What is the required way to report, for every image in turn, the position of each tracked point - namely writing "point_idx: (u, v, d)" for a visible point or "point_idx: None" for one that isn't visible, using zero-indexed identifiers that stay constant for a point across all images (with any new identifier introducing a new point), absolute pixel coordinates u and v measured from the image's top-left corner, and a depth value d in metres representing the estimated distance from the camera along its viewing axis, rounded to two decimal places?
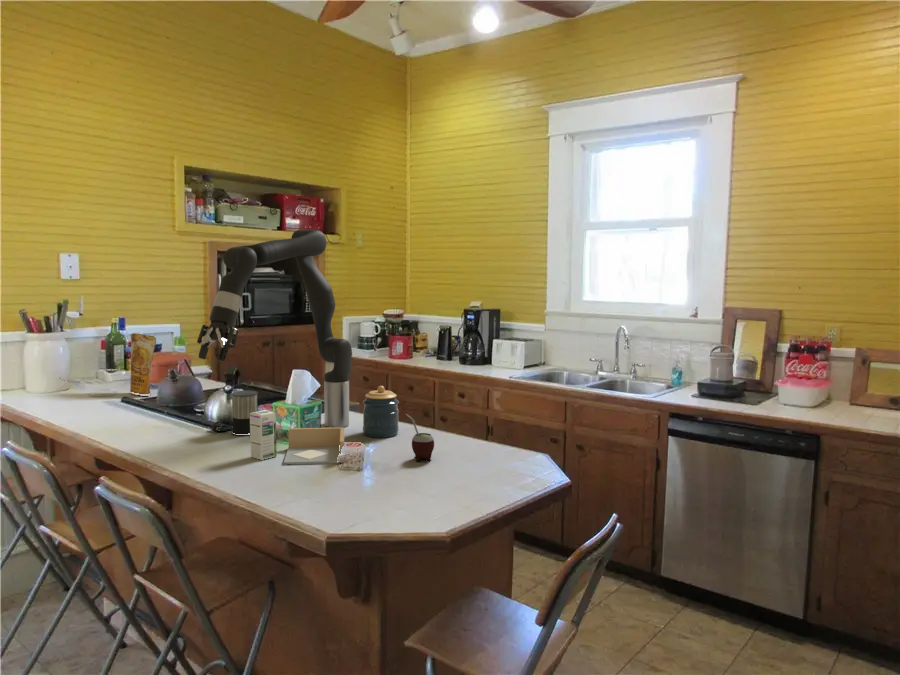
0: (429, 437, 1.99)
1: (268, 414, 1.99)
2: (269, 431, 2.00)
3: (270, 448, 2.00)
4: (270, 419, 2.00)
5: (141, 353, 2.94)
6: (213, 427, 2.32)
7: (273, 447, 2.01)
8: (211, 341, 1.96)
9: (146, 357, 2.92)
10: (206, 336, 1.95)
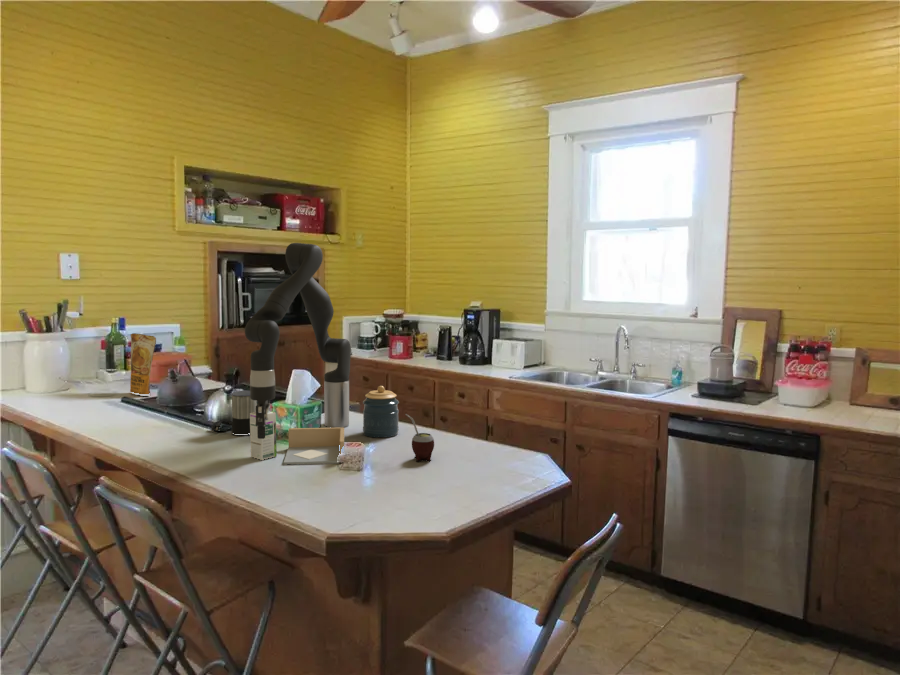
0: (429, 437, 1.99)
1: (268, 414, 1.99)
2: (269, 431, 2.00)
3: (270, 448, 2.00)
4: (270, 419, 2.00)
5: (141, 353, 2.94)
6: (213, 427, 2.32)
7: (273, 447, 2.01)
8: None
9: (146, 357, 2.92)
10: None
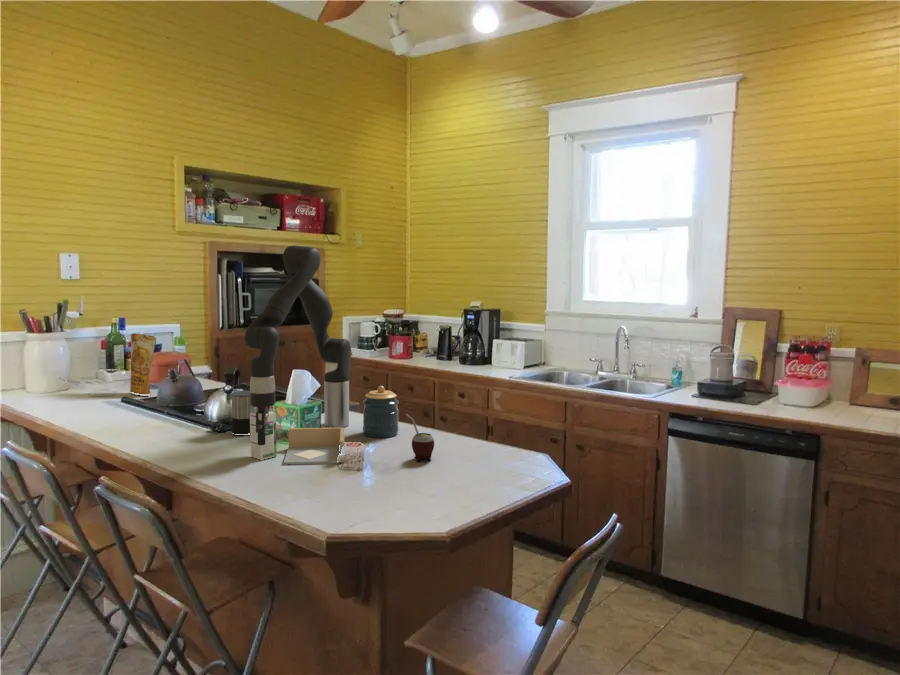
0: (429, 437, 1.99)
1: None
2: (269, 431, 2.00)
3: (270, 448, 2.00)
4: (270, 419, 2.00)
5: (141, 353, 2.94)
6: (212, 427, 2.32)
7: (273, 447, 2.01)
8: None
9: (146, 357, 2.92)
10: None
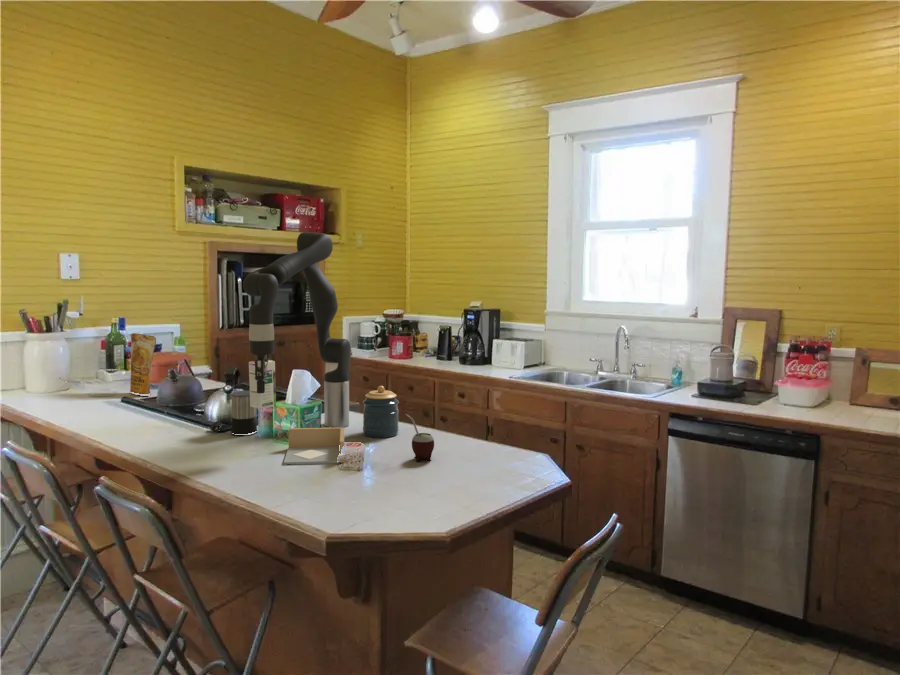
0: (429, 437, 1.99)
1: None
2: (269, 379, 1.98)
3: (269, 397, 1.98)
4: (269, 368, 1.98)
5: (141, 353, 2.94)
6: (212, 427, 2.32)
7: (272, 396, 2.00)
8: None
9: (146, 357, 2.92)
10: None
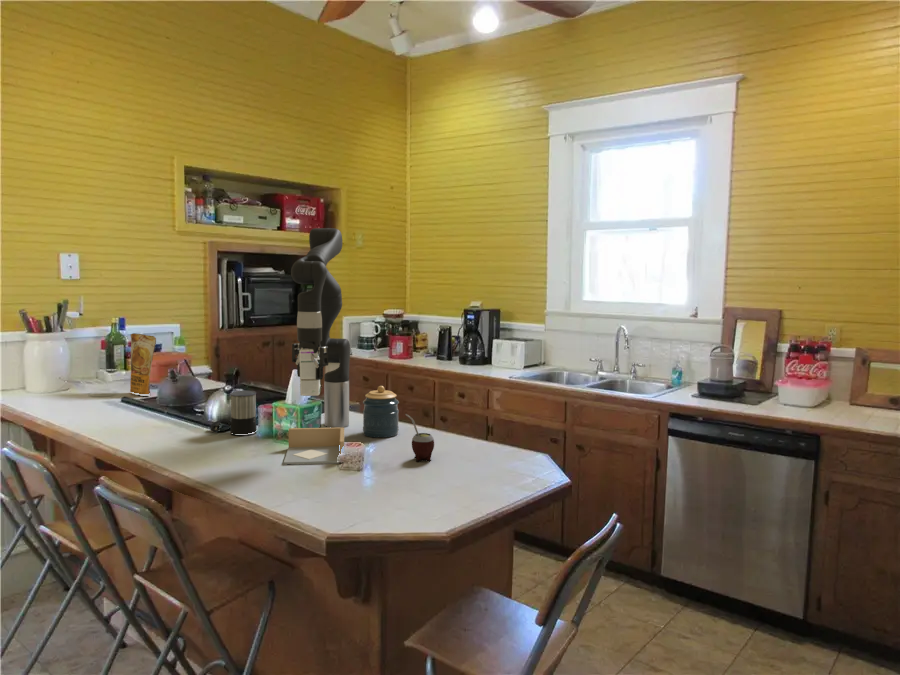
0: (429, 437, 1.99)
1: None
2: None
3: (319, 383, 2.01)
4: None
5: (141, 353, 2.94)
6: (212, 427, 2.32)
7: None
8: None
9: (146, 357, 2.92)
10: (299, 356, 2.00)
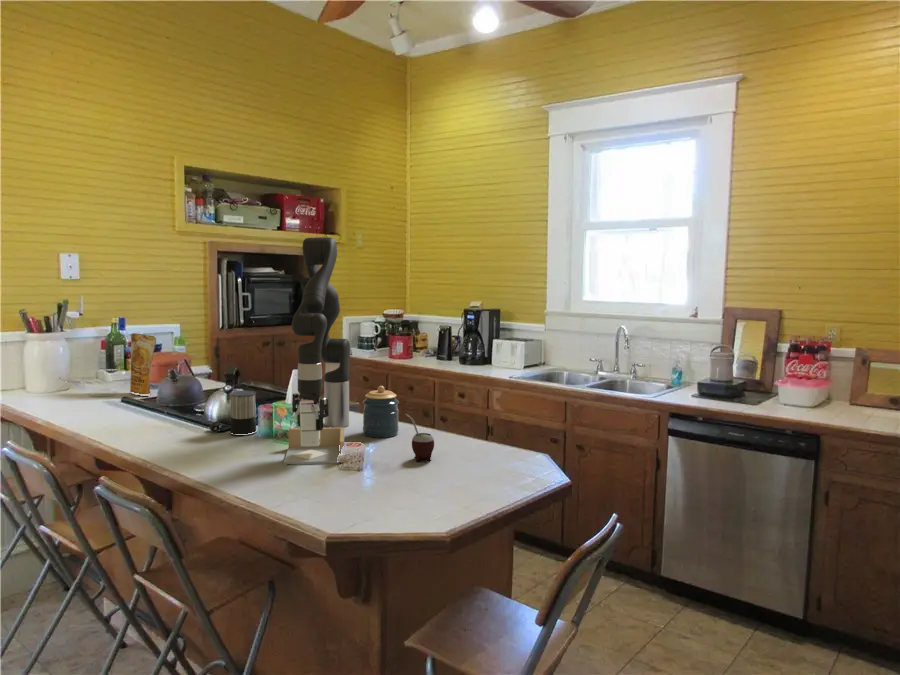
0: (429, 437, 1.99)
1: None
2: None
3: None
4: None
5: (141, 353, 2.94)
6: (211, 427, 2.31)
7: None
8: None
9: (146, 357, 2.92)
10: (299, 407, 2.01)
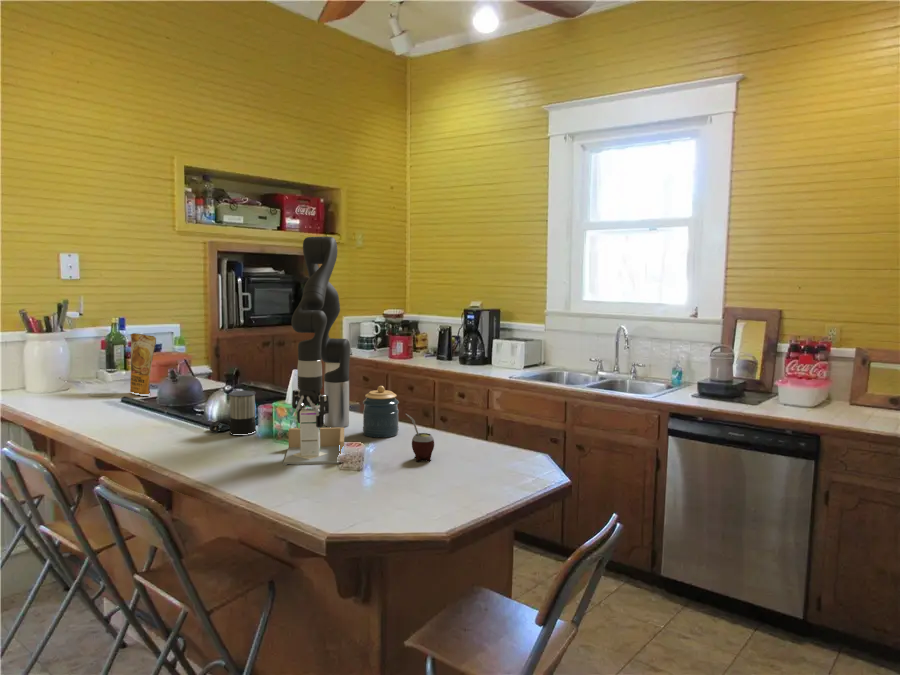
0: (429, 437, 1.99)
1: None
2: None
3: (319, 443, 2.03)
4: None
5: (141, 353, 2.94)
6: (211, 427, 2.31)
7: None
8: None
9: (146, 357, 2.92)
10: (299, 403, 2.01)
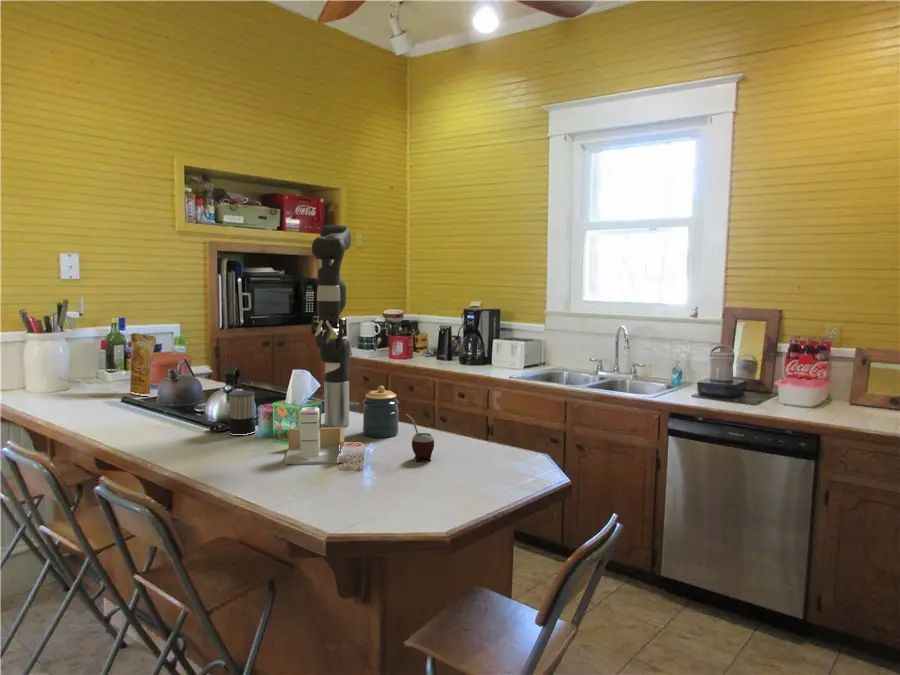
0: (429, 437, 1.99)
1: (318, 410, 2.02)
2: (319, 426, 2.03)
3: (319, 443, 2.03)
4: None
5: (141, 353, 2.94)
6: (211, 427, 2.31)
7: None
8: (324, 330, 2.13)
9: (146, 357, 2.92)
10: (318, 328, 2.11)
